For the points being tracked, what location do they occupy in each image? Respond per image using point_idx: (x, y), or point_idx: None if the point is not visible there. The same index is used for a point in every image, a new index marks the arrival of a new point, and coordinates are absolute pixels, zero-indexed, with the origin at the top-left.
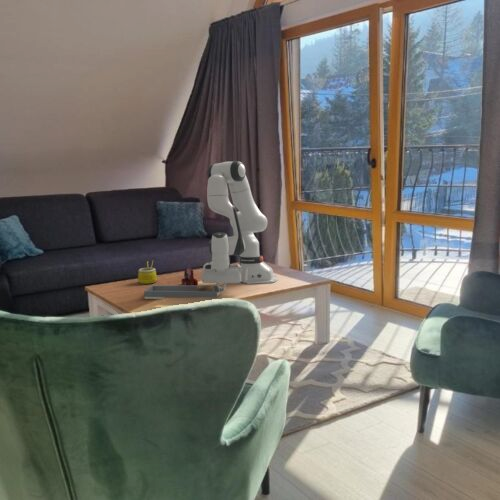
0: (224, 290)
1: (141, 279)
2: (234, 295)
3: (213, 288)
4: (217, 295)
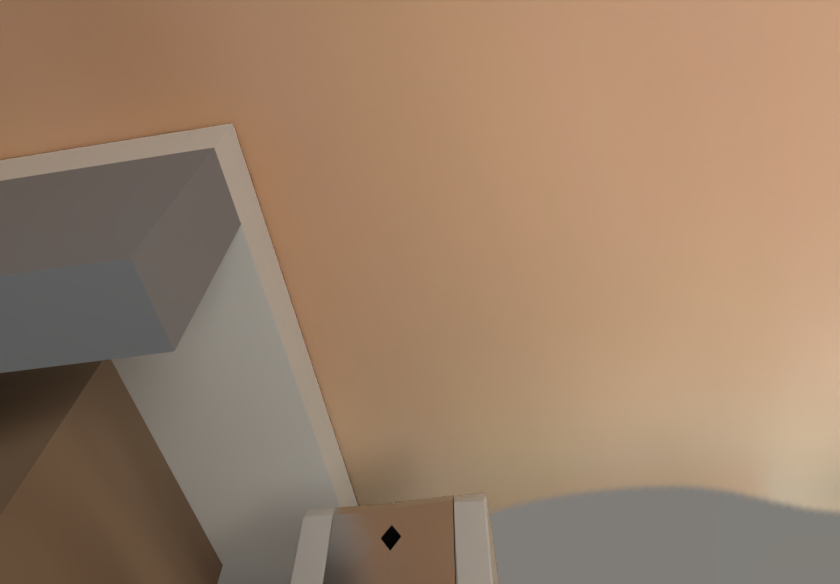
0: (496, 568)
1: None
2: (730, 301)
3: (89, 579)
4: None
